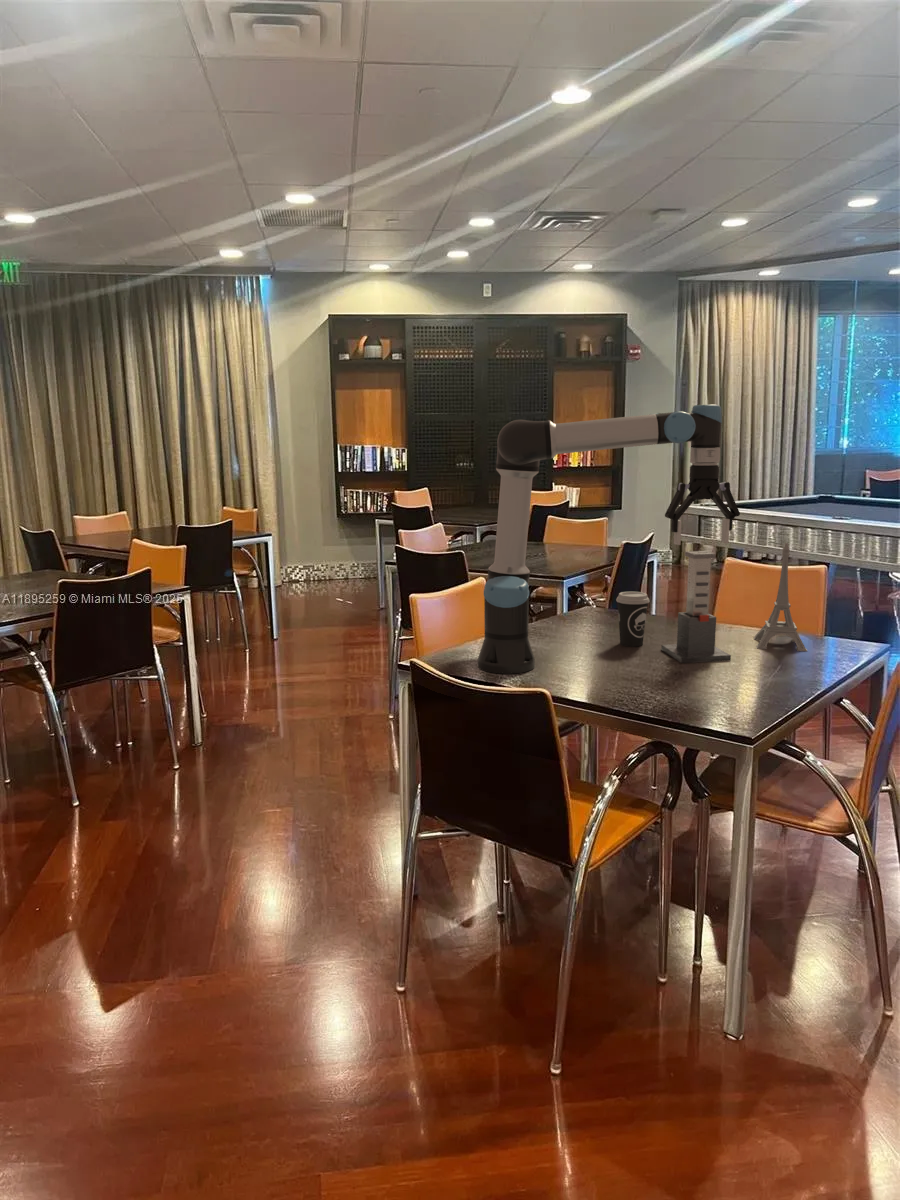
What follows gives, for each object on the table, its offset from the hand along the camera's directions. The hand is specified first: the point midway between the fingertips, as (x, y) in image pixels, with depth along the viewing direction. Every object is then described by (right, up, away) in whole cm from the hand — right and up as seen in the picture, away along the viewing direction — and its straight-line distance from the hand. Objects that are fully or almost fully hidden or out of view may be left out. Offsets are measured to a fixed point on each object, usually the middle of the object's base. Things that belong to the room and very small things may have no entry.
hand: (701, 543), depth 221 cm
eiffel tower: (+28, -29, +17) cm, 43 cm away
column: (0, -29, +6) cm, 30 cm away
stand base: (0, -31, +6) cm, 31 cm away
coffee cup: (-15, -28, +19) cm, 37 cm away
